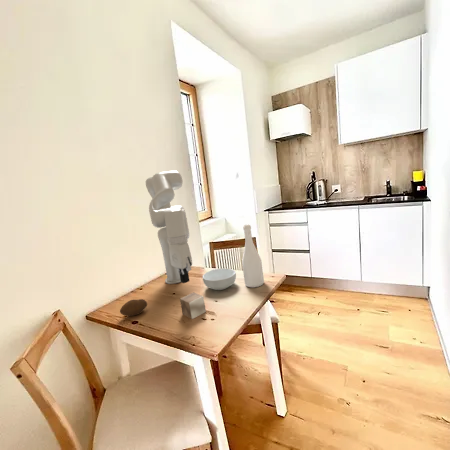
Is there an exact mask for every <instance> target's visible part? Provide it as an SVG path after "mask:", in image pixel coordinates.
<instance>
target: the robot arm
mask: <svg viewBox="0 0 450 450" xmlns="http://www.w3.org/2000/svg"><path fill="white" fill-rule="evenodd" d="M182 186H183V177H182V174H181V173H180V172H179V171H177V170H169V171H160V172H156V173H155V174H153V175H152V177H148V178H146V179H145V187H146V189H147V192H148V193H149V195H150V197H151V198H152V199H150V202H149V206H148V211H149V217H150V222H151V224H152V226H153V227H154V228H156V229H157V228H158V229H159V230H158V231H157V237H158V241H159V244H160V247H161V251H162V255H163V257H162V258H163V261H164V266H165V272H166V273H165V275H166V278H165V279H164V282H165V283H166V284H168V285H174V284H180V283H181V284H183V285H185V284H186V283H189V282H190V276H189V272H190V271H192V266H193V258H192V254H191V250H190V247H189V243H188V241H189V238H190V229H189V225H188V218H187V214H186V209H185V208H184V206H182V205H179V204H177V205H172V206H171V202H172V201H173V199H175V191H177V190H179V189H180V188H181V187H182Z"/></svg>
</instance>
